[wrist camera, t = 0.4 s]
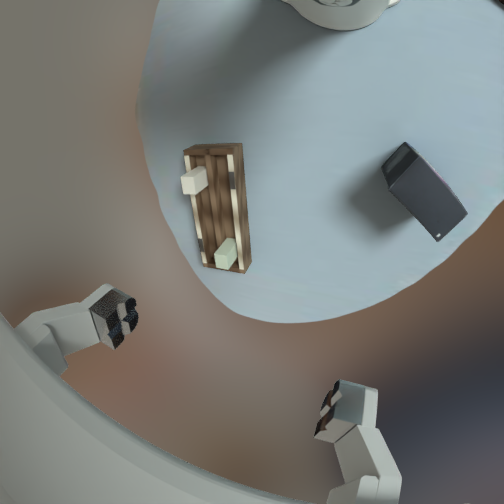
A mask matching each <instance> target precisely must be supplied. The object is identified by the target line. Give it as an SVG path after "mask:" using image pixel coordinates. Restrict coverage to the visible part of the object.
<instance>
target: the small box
mask: <svg viewBox="0 0 504 504" xmlns="http://www.w3.org/2000/svg"><path fill="white" fill-rule="evenodd" d="M381 169H382V171H383V173H384V176H385V179H386V181H387V184H388V189H389V191H390V192H391V193H392V194H393V195H394V196H395V197H396V198H397V199H398V200H399V201H400V202H401V203H402V204H403V205H404V206H405V207H406V208H407V209H408V210H409V211H410V212H411V213H412V214H413V216H414V217H415V218H416V219H417V220H418V221H419V222H420V223H421V224H422V225H423V226H424V227H425V229H426V230H427V231H428V232H429V233H430V234H431V235H432V236H433V238H434V239H435V240H436V241H437V242H439V241H440V240H441V239H442V238H443V237H444V236H446V235H447V234H448V233H449V232H450V231H451V230H452V229H453V228H454V227H455V226H456V225H457V224H458V223H459V222H460V221H461V220H463V218H464V217H465V216H467V214H468V213H467V211H466V210H465V208H464V207H463V205H462V204H461V202H460V201H459V199H458V198H457V196H456V195H455V194H454V192H453V191H452V190H451V188H450V187H449V186H448V184H447V183H446V182H445V181H444V179H443V178H442V177H441V176H440V175H439V173H438V172H437V171H436V170H435V169H434V168H433V167H432V166H431V165H430V164H429V163H428V162H427V160H426V159H425V158H424V157H422V156H421V155H420V154H419V153H418V152H417V151H416V150H415V149H414V148H413V147H412V146H410V145H409V144H408V143H407V142H404V143H403V144H402V145H401V146H400V147H399V148H398V150H397V151H396V152H395V153H394V154H393V155H392V156H391V157H390V158H389V159H388V160H387V161H386V163H385V164H384V165H383V166H382V167H381Z"/></svg>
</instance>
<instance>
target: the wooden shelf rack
mask: <svg viewBox="0 0 504 504" xmlns="http://www.w3.org/2000/svg"><path fill="white" fill-rule="evenodd" d="M183 151H184V158H185V165H186V171H187V173H188V172H189V171H191V170H193V169H194V168H196V167H198V166H206V169H207V177H208V184H209V185H208V186H207V187H205V188H204V189H203V190H201V191H200V192H199V193H197V194H196V195H194V194H190V196H191V202H192V208H193V213H194V219H195V224H196V230H197V235H198V242H199V247H200V252H201V256H202V261H203V265H204V267H209V268H215V269H221V268H216V262H215V256H214V253H215V252H216V251H217V250H218V248H219V247H220V246H221V245H222V243H223V242H224V241H225V240H226V238H233V239H236V244H237V252H238V257H237V258H236V260H235V261H234V263H233V264H232V265H231V267H230V268H229V270H227V269H221V270H226V271H232V272H238V273H243V274H245V272H246V271H247V269H248V267H249V266H250V264H251V262H252V259H251V247H250V235H249V223H248V210H247V198H246V186H245V173H244V161H243V149H242V143H226V144H199V145H194V146H191V147H189V148H187V149H185V150H183Z"/></svg>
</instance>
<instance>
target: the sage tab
mask: <svg viewBox="0 0 504 504" xmlns="http://www.w3.org/2000/svg"><path fill="white" fill-rule="evenodd" d="M214 256H215V262H216V268H221V269H227V270H229V268H230V267H231V265H232V264H233V263H234V261H235V260H236V258H237V257H238V252H237V244H236V239H233V238H226V240H225V241H224V242H223V243H222V245H221V246H220V247H219V248H218V250H217V251H216V252H215V253H214Z"/></svg>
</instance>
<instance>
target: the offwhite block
mask: <svg viewBox="0 0 504 504" xmlns="http://www.w3.org/2000/svg"><path fill="white" fill-rule="evenodd" d="M181 183H182V189H183V194H194V195H196V194H197V193H199V192H200V191H201V190H203V189H204V188H205V187H207V186H208V185H209V184H208V177H207V169H206V166H198V167H196V168H194V169H193V170H191V171H189V172H188V173H186V174H184V175H183V176H181Z"/></svg>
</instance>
